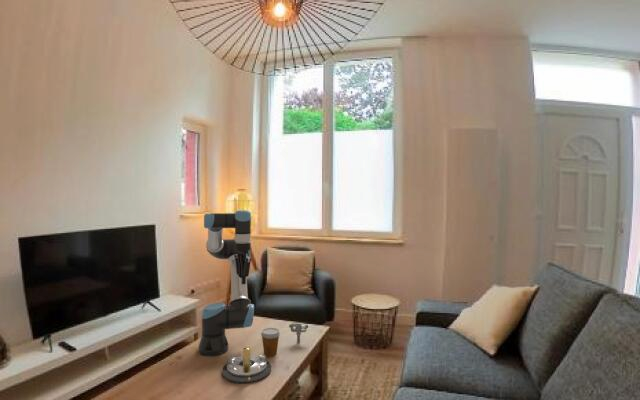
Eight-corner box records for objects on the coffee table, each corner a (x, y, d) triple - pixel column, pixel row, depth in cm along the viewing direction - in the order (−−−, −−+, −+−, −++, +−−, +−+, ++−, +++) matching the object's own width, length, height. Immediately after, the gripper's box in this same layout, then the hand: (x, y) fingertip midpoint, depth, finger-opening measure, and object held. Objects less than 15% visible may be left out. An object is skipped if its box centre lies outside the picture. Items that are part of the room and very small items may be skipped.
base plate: (214, 369, 175) (214, 365, 175) (255, 356, 189) (255, 352, 189) (236, 389, 158) (236, 384, 158) (280, 372, 172) (280, 368, 172)
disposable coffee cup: (283, 354, 192) (283, 331, 191) (268, 360, 185) (269, 336, 184) (271, 348, 198) (271, 326, 198) (257, 354, 191) (257, 331, 191)
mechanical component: (307, 343, 205) (307, 325, 205) (288, 343, 205) (289, 325, 205) (307, 341, 208) (308, 323, 207) (289, 341, 208) (289, 323, 208)
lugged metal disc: (228, 359, 181) (228, 335, 181) (266, 357, 184) (266, 333, 184) (225, 378, 163) (225, 351, 163) (267, 375, 166) (267, 349, 166)
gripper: (256, 243, 181) (256, 291, 182) (243, 240, 191) (242, 286, 191) (242, 244, 176) (242, 294, 177) (229, 241, 186) (229, 288, 187)
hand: (242, 290), depth 184 cm, fingers closed
